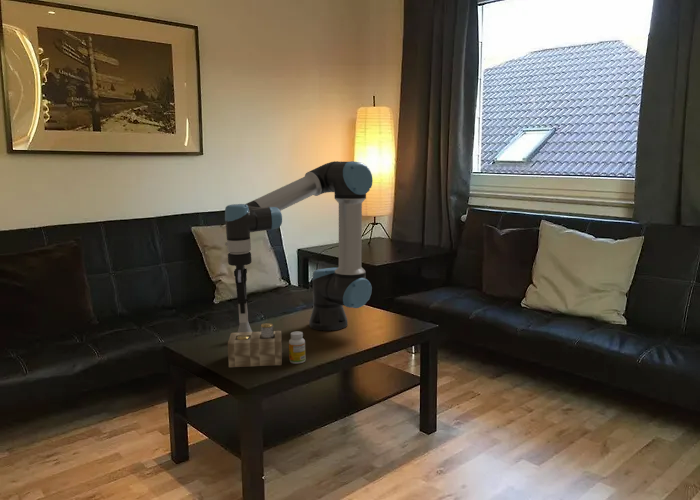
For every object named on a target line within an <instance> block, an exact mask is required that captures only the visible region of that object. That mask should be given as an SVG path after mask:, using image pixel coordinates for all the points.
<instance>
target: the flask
mask: <svg viewBox="0 0 700 500" xmlns="http://www.w3.org/2000/svg"><path fill="white" fill-rule="evenodd" d="M238 325H239V326H238V330H237V332H236V333H238V332H253V330H252V327H251V326H250V323H249V321H248V322H246V323H239V324H238Z"/></svg>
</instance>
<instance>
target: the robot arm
mask: <svg viewBox="0 0 700 500" xmlns="http://www.w3.org/2000/svg"><path fill="white" fill-rule="evenodd" d="M372 186H373V174H372V172H371V170H370V168H369V167H368V166H367V165H366V164H365V163H363V162H359V161H353V160H352V161H335V160H334V161H329V162H327V163H324V164H322V165H320V166H318V167H316V168H314V169H312V170H309V171H307V172H306V173H305V174H304V176H303V177H301V178H298V179H296V180H295V181H292V182H290V183H288V184H285V185H284V186H282V187H279V188H277V189H275V190H273V191H271V192H269V193H266V194H264V195H262V196H260V197H258V198H255V199H254V200H251V201H249V202H247V203H235V204H234V203H233V204H228V205H226V206H225V209H224V222H225V235H226V242H225V244H224V245H225V246H227V252H228V254H227V263H228V265H230V266H231V267H232V266H235V268H234V271H233V275H234V280H235V287H236V298H237V300H236V302H235V304H236V305H237V306H238V318H239V319H238V321H239V324H240V323H246V322H248V323H249V312H248V302H249V300H250V299H249V298H248V296H247V295H248V294H247V280H248V279H247V278H248V277H247V274H248V269H247V268H245V266H247V265H250V264H251V263H252V252H251V251H252V245H251V244H252V243H251V233H256V232H262V231H263V232H265V231H272V230H277V229H279V228H281V226H282V224H283V215H282V212H281V211H283V210H285V209H287V208H289V207H291V206H293V205H296V204H298V203H300V202H302V201H303V200H304V201H305V200H306V199H308V198H310V197H312V196H315V197H318V196H321V195H323V194H326V193H333V194H334V200H335V201H336V202H337V203H338V267H326V268H319V269H316V270H314V271H312V272H313V273H312V279H311V282H312V303H313V306H312V310H311V314H310V317H309V320H308V321H309V328H311V329H313V330H315V331H322V330H323V331H324V332H325V331H327V332H329V331H331V330H332V331H338V330H342V328H343V329H345V328H347V327H348V317H347V315H346V312H345V309H344V306H345V307H347V308H353V309H359V308H361V307H363V306H365V305H366V304H367V302H368V301H369V300H370V299H371V295H372V289H373V287H372V284H371V282H370V281H369V280H368V279H367V278H366V270H365V269H364V268H363V267H362V249H363V247H362V245H363V243H362V240H363V239H362V238H363V236H362V233H363V230H362V229H363V225H362V224H363V223H362V221H363V219H362V218H363V216H362V215H363V213H362V212H363V210H362V209H363V202H364V201H365V200H366V199H367V193H369V192H370V189H371V188H372ZM247 298H248V299H247ZM346 326H347V327H346Z"/></svg>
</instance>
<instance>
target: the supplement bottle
mask: <svg viewBox="0 0 700 500" xmlns="http://www.w3.org/2000/svg"><path fill="white" fill-rule="evenodd" d="M303 336H304V333H303V331H296V330H295V331H292V332H290V339H288V357H289V360H288V361H289V363H291V364H296V365H297V364H302V363H304V362H306V361H307V360H306V357H307V356H306V340H305V339H304V338H303Z"/></svg>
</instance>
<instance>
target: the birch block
mask: <svg viewBox="0 0 700 500" xmlns="http://www.w3.org/2000/svg"><path fill="white" fill-rule="evenodd" d="M237 332H238V331H237ZM237 332H231V333H230V336H229V338H228V341H227V357H228V358H227V359H228V368H240V367H241V368H242V367H264V366H266V367H267V366H282V363H283V360H282V359H283V346H282V330H273V338H272V339H261V331H252V332H238V333H237ZM242 335H247V336H249V340H237V337H238V336H242Z"/></svg>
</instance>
